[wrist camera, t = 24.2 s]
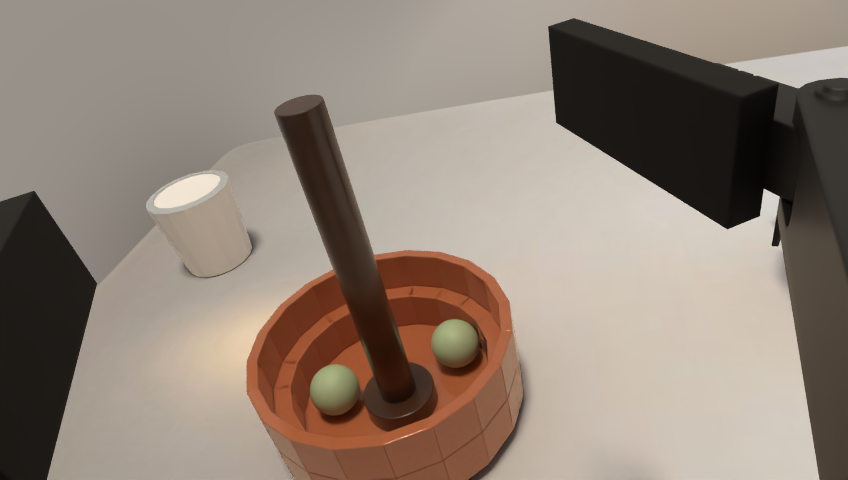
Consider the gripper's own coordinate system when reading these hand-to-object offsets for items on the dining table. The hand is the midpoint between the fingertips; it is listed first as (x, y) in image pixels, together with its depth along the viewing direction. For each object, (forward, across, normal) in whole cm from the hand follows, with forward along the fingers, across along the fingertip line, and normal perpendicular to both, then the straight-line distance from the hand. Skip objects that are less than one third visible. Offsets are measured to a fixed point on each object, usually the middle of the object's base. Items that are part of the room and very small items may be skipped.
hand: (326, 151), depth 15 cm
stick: (+9, 0, -20) cm, 21 cm away
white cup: (+33, -10, -20) cm, 40 cm away
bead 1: (+10, -3, -18) cm, 21 cm away
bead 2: (+10, +4, -18) cm, 21 cm away
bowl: (+10, 0, -20) cm, 22 cm away
